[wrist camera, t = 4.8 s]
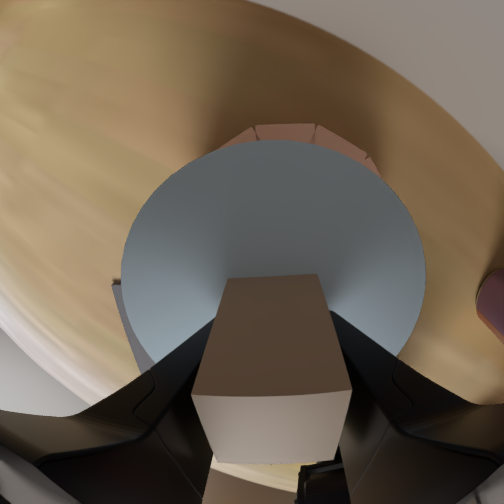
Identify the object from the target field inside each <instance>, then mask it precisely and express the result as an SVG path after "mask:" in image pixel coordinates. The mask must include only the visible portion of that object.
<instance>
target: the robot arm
mask: <svg viewBox="0 0 504 504" xmlns="http://www.w3.org/2000/svg"><path fill="white" fill-rule="evenodd" d="M329 312H330V315H331V318H332V321H333V324H334V328H335V331H336V334H337V338H338V341H339V344H340V348H341V351H342V355H343V358H344V362H345V365H346V369H347V372H348V376H349V379H350V383H351V387H352V393H351V398H350V402H349V406H348V410H347V414H346V418H345V422H344V425H343V429H342V433H341V436H340V440H339V443H338V446H337V450H336V453H335V456H334V459H333V460H327V461H318V462H316V463H317V464H312V465H307V466H306V465H303V466H301V469H300V472H299V473H298V476H299V479H298V489H297V493H296V497H295V500H294V502H295V504H504V403H502V404H494V405H478V404H474V403H471V402H469V401H467V400H465V399H463V398H461V397H459V396H457V395H456V394H454V393H452V392H450V391H449V390H447V389H445V388H443V387H442V386H440V385H438V384H436V383H435V382H433V381H431V380H430V379H428V378H426V377H425V376H423V375H421V374H420V373H418V372H417V371H415V370H414V369H412V368H411V367H410V366H408V365H407V364H405V363H404V362H403V361H401V360H399V359H398V358H397V357H396V356H394V355H393V354H392V353H390V352H389V351H387V350H386V349H385V348H383V347H382V346H381V345H379V344H378V343H377V342H375V341H374V340H372V339H371V338H370V337H368V336H367V335H366V334H364V333H363V332H362V331H360V330H359V329H357V328H356V327H355V326H353V325H352V324H351V323H349V322H348V321H347V320H345V319H344V318H342V317H341V316H340V315H338V314H337V313H336V312H334V311H333V310H329ZM214 319H215V317H214V318H213V319H212V320H211V321H209V322H208V323H207V324H206V325H204V326H203V327H202V328H201V329H199V330H198V331H197V332H196V333H194V334H193V335H192V336H190V337H189V338H188V339H187V340H185V341H184V342H183V343H182V344H180V345H179V346H178V347H176V348H175V349H174V350H173V351H171V352H170V353H169V354H167V355H166V356H165V357H164V358H162V359H161V360H160V361H158V362H157V363H156V364H154V365H153V366H152V367H151V368H150V370H149V369H148V370H147V371H145V372H144V373H143V374H141V375H140V376H139V377H137V378H136V379H134V380H133V381H132V382H130V383H129V384H127V385H126V386H124V387H123V388H121V389H119V390H118V391H116V392H115V393H113V394H111V395H110V396H108V397H106V398H105V399H103V400H101V401H100V402H98V403H96V404H94V405H93V406H91V407H89V408H88V409H86V410H84V411H82V412H80V413H78V414H75V415H72V416H67V417H52V416H39V415H31V414H23V413H15V412H9V411H4V410H0V504H202V498H203V495H204V491H205V487H206V482H207V478H208V474H209V470H210V466H211V461H212V457H213V451H212V448H211V446H210V444H209V441H208V439H207V436H206V434H205V431H204V429H203V426H202V424H201V421H200V418H199V416H198V413H197V410H196V408H195V405H194V402H193V399H192V396H191V393H192V389H193V386H194V383H195V380H196V376H197V373H198V370H199V367H200V364H201V360H202V357H203V354H204V351H205V348H206V344H207V341H208V338H209V335H210V332H211V329H212V326H213V322H214Z"/></svg>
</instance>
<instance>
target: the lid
mask: <svg viewBox="0 0 504 504" xmlns="http://www.w3.org/2000/svg"><path fill="white" fill-rule="evenodd" d="M425 284H426V266H425V258H424V252H423V246H422V243H421V240H420V237H419V234H418V231H417V228H416V226H415V224H414V222H413V220H412V218H411V216H410V214H409V212H408V210H407V208H406V207H405V206H404V204H403V203H402V201H401V200H400V199H399V197H398V196H397V195H396V193H395V192H394V191H393V190H392V189H391V188H390V187H389V186H388V185H387V184H386V183H385V182H384V181H383V180H382V179H381V178H380V177H379V176H378V175H376V174H375V173H374V172H372V171H371V170H369V169H368V168H367V167H365V166H364V165H362V164H361V163H359V162H357V161H355V160H353V159H352V158H350V157H348V156H346V155H344V154H341V153H339V152H337V151H334V150H331V149H328V148H325V147H322V146H318V145H315V144H310V143H304V142H298V141H291V140H259V141H252V142H245V143H239V144H235V145H231V146H228V147H225V148H222V149H218V150H215V151H212V152H210V153H208V154H206V155H204V156H202V157H200V158H198V159H196V160H194V161H192V162H190V163H188V164H187V165H185V166H184V167H182V168H181V169H180V170H178V171H177V172H175V173H174V174H172V175H171V176H170V177H169V178H168V179H167V180H166V181H165V182H164V183H162V184H161V185H160V186H159V187H158V188H157V189H156V190H155V191H154V192H153V194H152V195H151V196H150V198H149V199H148V200H147V201H146V203H145V204H144V205H143V207H142V208H141V210H140V212H139V213H138V215H137V217H136V219H135V221H134V223H133V225H132V227H131V229H130V232H129V235H128V238H127V240H126V243H125V247H124V253H123V258H122V264H121V287H122V296H123V301H124V305H125V309H126V313H127V316H128V319H129V321H130V324H131V326H132V329H133V331H134V333H135V335H136V336H137V338H138V340H139V342H140V344H141V345H142V347H143V348H144V349H145V351H146V352H147V353H148V355H149V356H150V357H151V359H152V360H153V361H154V362H155V363H157V362H158V361H160V360H161V359H162V358H164V357H165V356H166V355H167V354H169V353H170V352H171V351H173V350H174V349H175V348H176V347H178V346H179V345H180V344H182V343H183V342H184V341H185V340H187V339H188V338H189V337H190V336H192V335H193V334H194V333H196V332H197V331H198V330H199V329H201V328H202V327H203V326H204V325H206V324H207V323H208V322H209V321H211V320H212V319H213V318H214V317H215V319H214V322H213V326H212V329H211V332H210V335H209V338H208V341H207V344H206V348H205V351H204V354H203V357H202V360H201V364H200V367H199V370H198V373H197V376H196V380H195V383H194V386H193V389H192V393H191V396H192V399H193V402H194V405H195V408H196V410H197V413H198V416H199V418H200V421H201V424H202V426H203V429H204V431H205V434H206V436H207V439H208V441H209V444H210V446H211V448H212V451H213V453H214V455H215V458H216V460H217V462H218V463H233V464H292V463H307V462H318V461H327V460H333V459H334V456H335V453H336V450H337V446H338V443H339V440H340V436H341V433H342V429H343V425H344V422H345V418H346V414H347V410H348V406H349V402H350V398H351V393H352V387H351V383H350V379H349V376H348V372H347V369H346V365H345V362H344V358H343V355H342V351H341V348H340V344H339V341H338V338H337V334H336V331H335V328H334V324H333V321H332V318H331V315H330V312H329V310H333V311H334V312H336V313H337V314H338V315H340V316H341V317H342V318H344V319H345V320H347V321H348V322H349V323H351V324H352V325H353V326H355V327H356V328H357V329H359V330H360V331H362V332H363V333H364V334H366V335H367V336H368V337H370V338H371V339H372V340H374V341H375V342H377V343H378V344H379V345H381V346H382V347H383V348H385V349H386V350H387V351H389V352H390V353H392V354H393V355H394V356H397V354H398V353H399V352H400V351H401V349H402V348H403V347H404V345H405V343H406V342H407V340H408V338H409V336H410V335H411V333H412V331H413V329H414V326H415V324H416V322H417V319H418V317H419V314H420V310H421V307H422V303H423V299H424V292H425Z"/></svg>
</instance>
